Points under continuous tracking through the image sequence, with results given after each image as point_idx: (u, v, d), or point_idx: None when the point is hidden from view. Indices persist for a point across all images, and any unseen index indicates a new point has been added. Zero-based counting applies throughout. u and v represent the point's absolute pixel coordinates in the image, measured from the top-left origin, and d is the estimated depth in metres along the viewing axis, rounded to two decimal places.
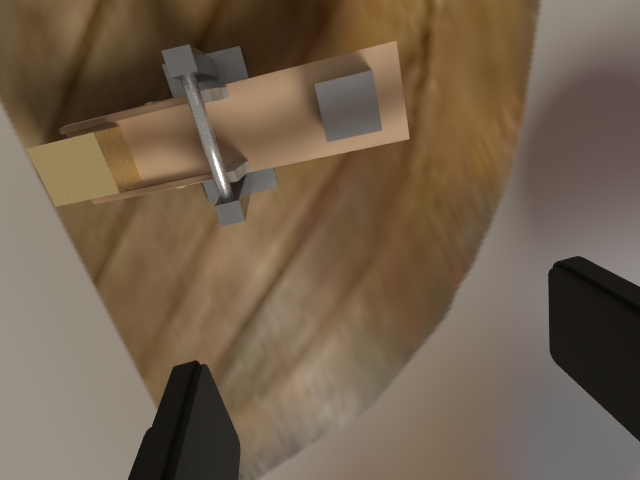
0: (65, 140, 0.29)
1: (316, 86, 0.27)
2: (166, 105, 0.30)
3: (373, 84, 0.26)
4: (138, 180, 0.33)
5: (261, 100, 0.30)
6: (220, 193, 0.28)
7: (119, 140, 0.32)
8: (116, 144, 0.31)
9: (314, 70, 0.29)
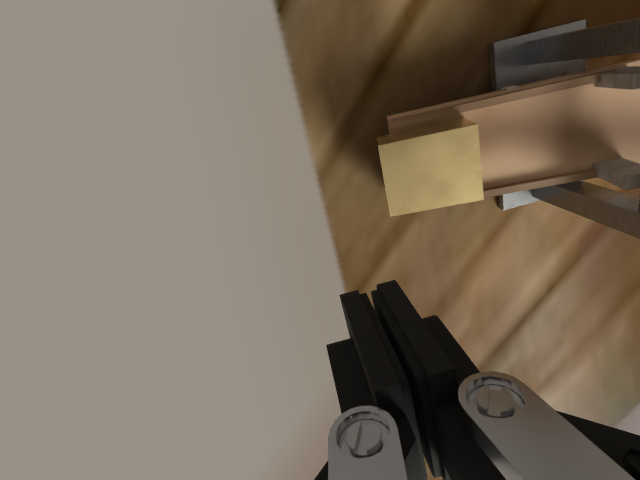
0: (435, 134, 0.24)
1: None
2: (545, 90, 0.25)
3: None
4: None
5: None
6: None
7: None
8: None
9: None
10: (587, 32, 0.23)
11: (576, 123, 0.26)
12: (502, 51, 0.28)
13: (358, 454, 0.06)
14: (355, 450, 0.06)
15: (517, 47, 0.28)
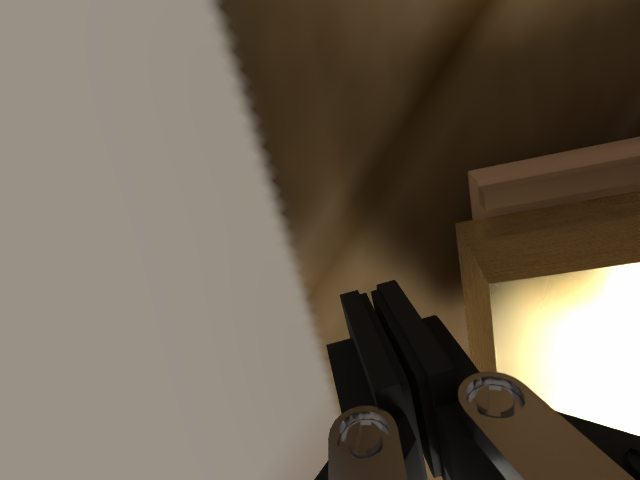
0: None
1: None
2: None
3: None
4: None
5: None
6: None
7: None
8: None
9: None
10: None
11: None
12: None
13: (358, 454, 0.06)
14: (355, 450, 0.06)
15: None
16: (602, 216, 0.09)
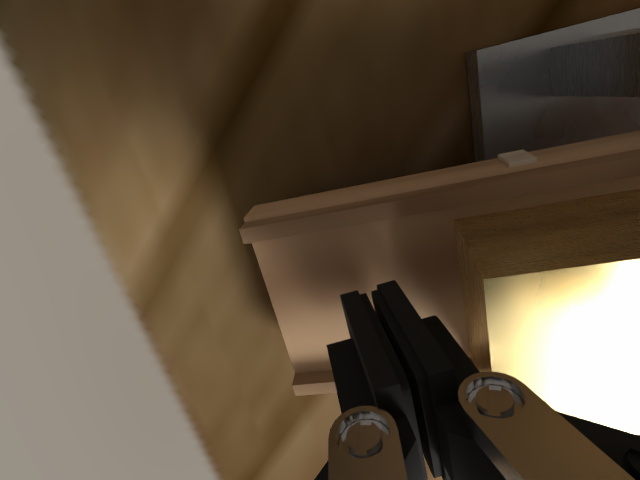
0: None
1: None
2: (606, 173, 0.10)
3: None
4: None
5: None
6: None
7: None
8: None
9: None
10: None
11: None
12: (495, 69, 0.13)
13: (358, 454, 0.06)
14: (355, 450, 0.06)
15: (527, 60, 0.13)
16: (600, 213, 0.10)
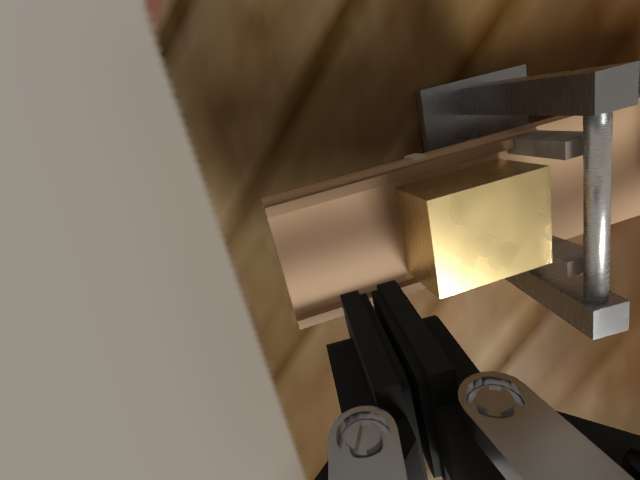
0: (500, 181, 0.17)
1: None
2: (458, 159, 0.19)
3: None
4: None
5: None
6: (596, 289, 0.18)
7: None
8: None
9: None
10: (515, 85, 0.19)
11: None
12: (431, 100, 0.24)
13: (358, 454, 0.06)
14: (355, 450, 0.06)
15: (448, 95, 0.24)
16: (465, 174, 0.19)
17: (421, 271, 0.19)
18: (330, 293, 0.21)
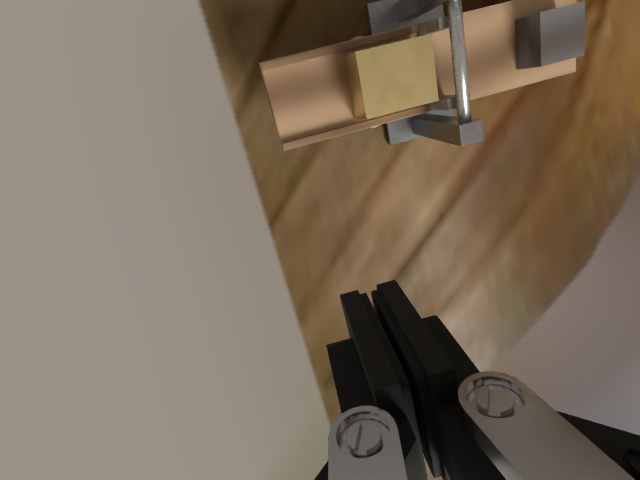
0: (400, 42, 0.28)
1: (541, 14, 0.30)
2: (382, 37, 0.31)
3: (583, 13, 0.31)
4: None
5: None
6: (462, 113, 0.30)
7: None
8: None
9: (512, 8, 0.33)
10: None
11: None
12: (375, 11, 0.36)
13: (358, 454, 0.06)
14: (355, 450, 0.06)
15: (387, 7, 0.36)
16: None
17: (358, 108, 0.31)
18: (303, 129, 0.32)
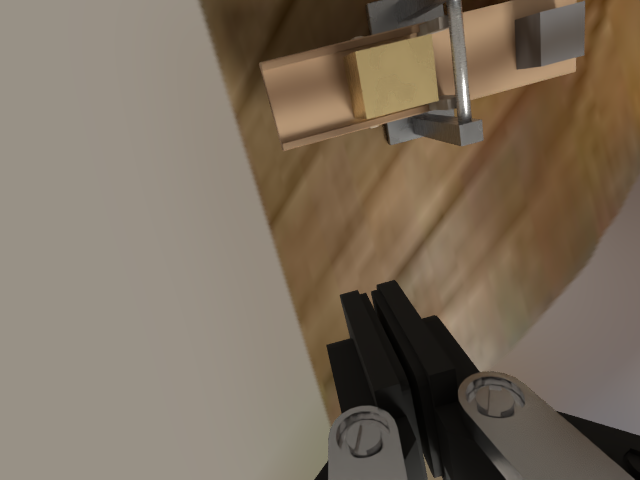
0: (400, 42, 0.28)
1: (541, 14, 0.30)
2: (382, 37, 0.31)
3: (583, 13, 0.31)
4: None
5: None
6: (462, 113, 0.30)
7: None
8: None
9: (512, 8, 0.33)
10: None
11: None
12: (375, 11, 0.36)
13: (358, 454, 0.06)
14: (355, 450, 0.06)
15: (387, 7, 0.36)
16: None
17: (358, 108, 0.31)
18: (303, 129, 0.32)
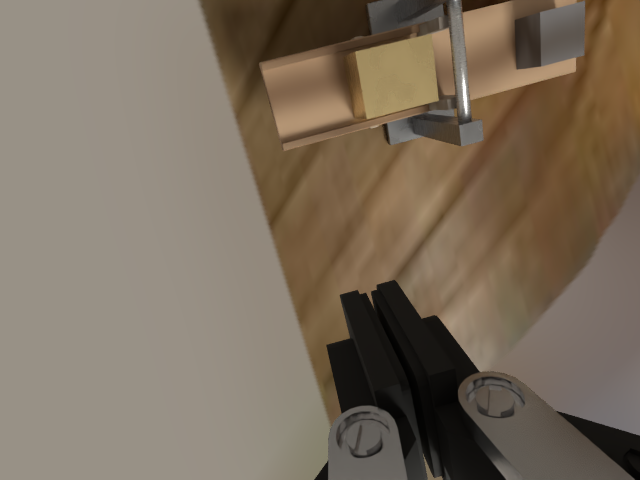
0: (400, 42, 0.28)
1: (541, 14, 0.30)
2: (382, 37, 0.31)
3: (583, 13, 0.31)
4: None
5: None
6: (462, 113, 0.30)
7: None
8: None
9: (512, 8, 0.33)
10: None
11: None
12: (375, 11, 0.36)
13: (358, 454, 0.06)
14: (355, 450, 0.06)
15: (387, 7, 0.36)
16: None
17: (358, 108, 0.31)
18: (303, 129, 0.32)
